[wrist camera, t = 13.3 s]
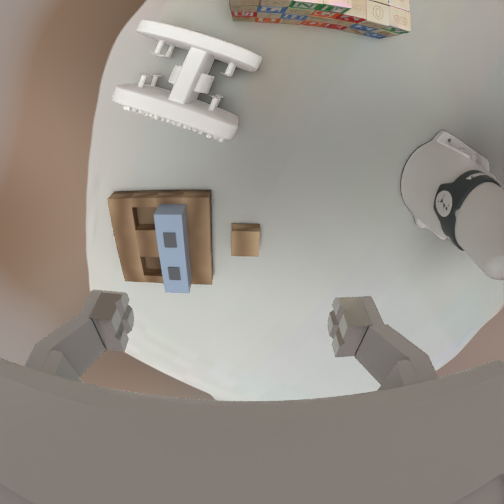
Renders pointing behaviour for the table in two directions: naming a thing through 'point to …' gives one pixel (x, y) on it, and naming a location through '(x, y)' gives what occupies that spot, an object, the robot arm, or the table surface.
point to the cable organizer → (187, 81)
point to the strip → (173, 247)
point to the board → (144, 234)
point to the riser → (245, 239)
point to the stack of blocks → (330, 14)
